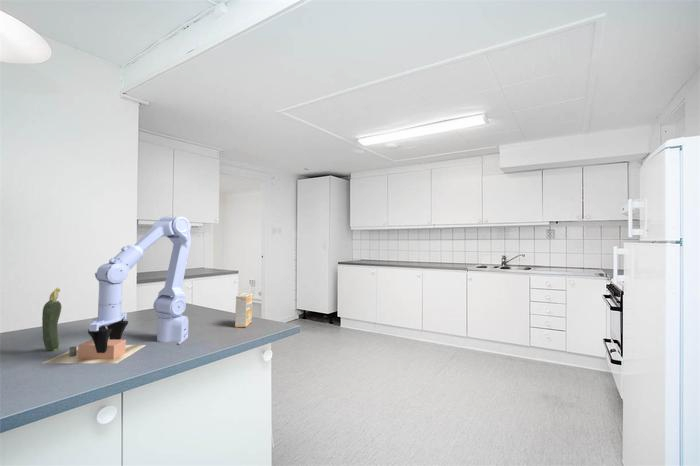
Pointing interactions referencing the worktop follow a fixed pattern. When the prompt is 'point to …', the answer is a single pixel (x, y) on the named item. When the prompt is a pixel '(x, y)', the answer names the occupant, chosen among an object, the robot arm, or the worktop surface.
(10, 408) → the worktop surface
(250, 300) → the supplement box
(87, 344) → the pink channel block
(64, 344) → the worktop surface
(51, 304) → the vegetable
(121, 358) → the board
